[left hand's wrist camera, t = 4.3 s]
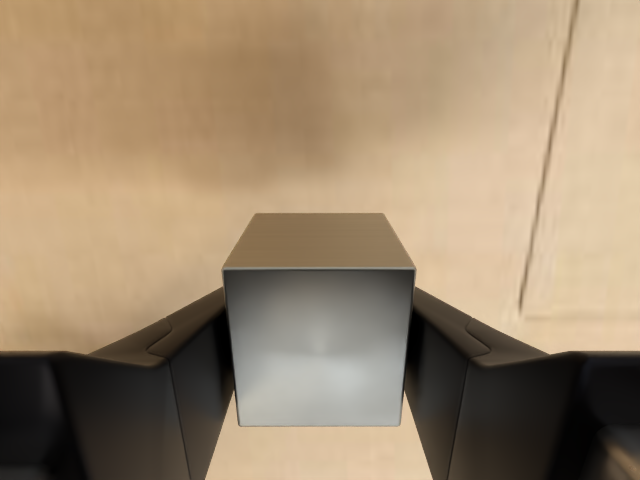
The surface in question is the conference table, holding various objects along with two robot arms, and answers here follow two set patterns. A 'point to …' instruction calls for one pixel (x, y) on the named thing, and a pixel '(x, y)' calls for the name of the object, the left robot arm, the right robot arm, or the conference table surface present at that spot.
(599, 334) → the conference table surface
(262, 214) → the block
